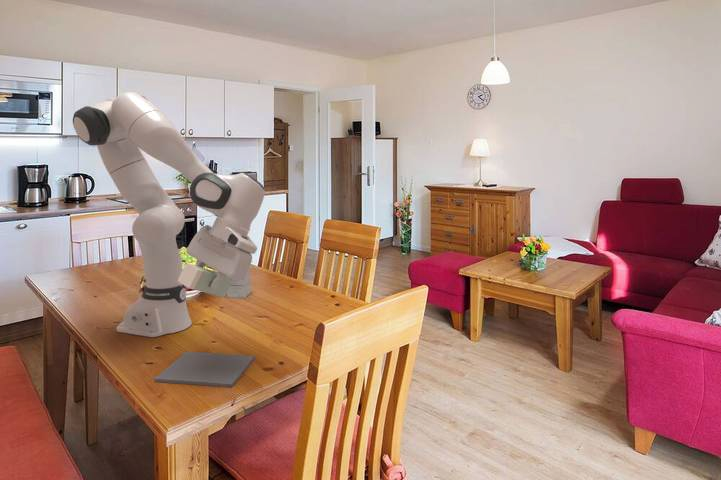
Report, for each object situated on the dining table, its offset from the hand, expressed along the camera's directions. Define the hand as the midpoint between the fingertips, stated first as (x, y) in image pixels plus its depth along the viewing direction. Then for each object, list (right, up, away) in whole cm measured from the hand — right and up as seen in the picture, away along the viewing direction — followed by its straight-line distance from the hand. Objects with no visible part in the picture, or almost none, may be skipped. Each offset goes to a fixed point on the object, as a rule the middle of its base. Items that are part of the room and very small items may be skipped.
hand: (204, 283), depth 120 cm
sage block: (+3, -1, +5) cm, 6 cm away
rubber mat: (0, -23, +3) cm, 23 cm away
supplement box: (-8, -11, +65) cm, 67 cm away
